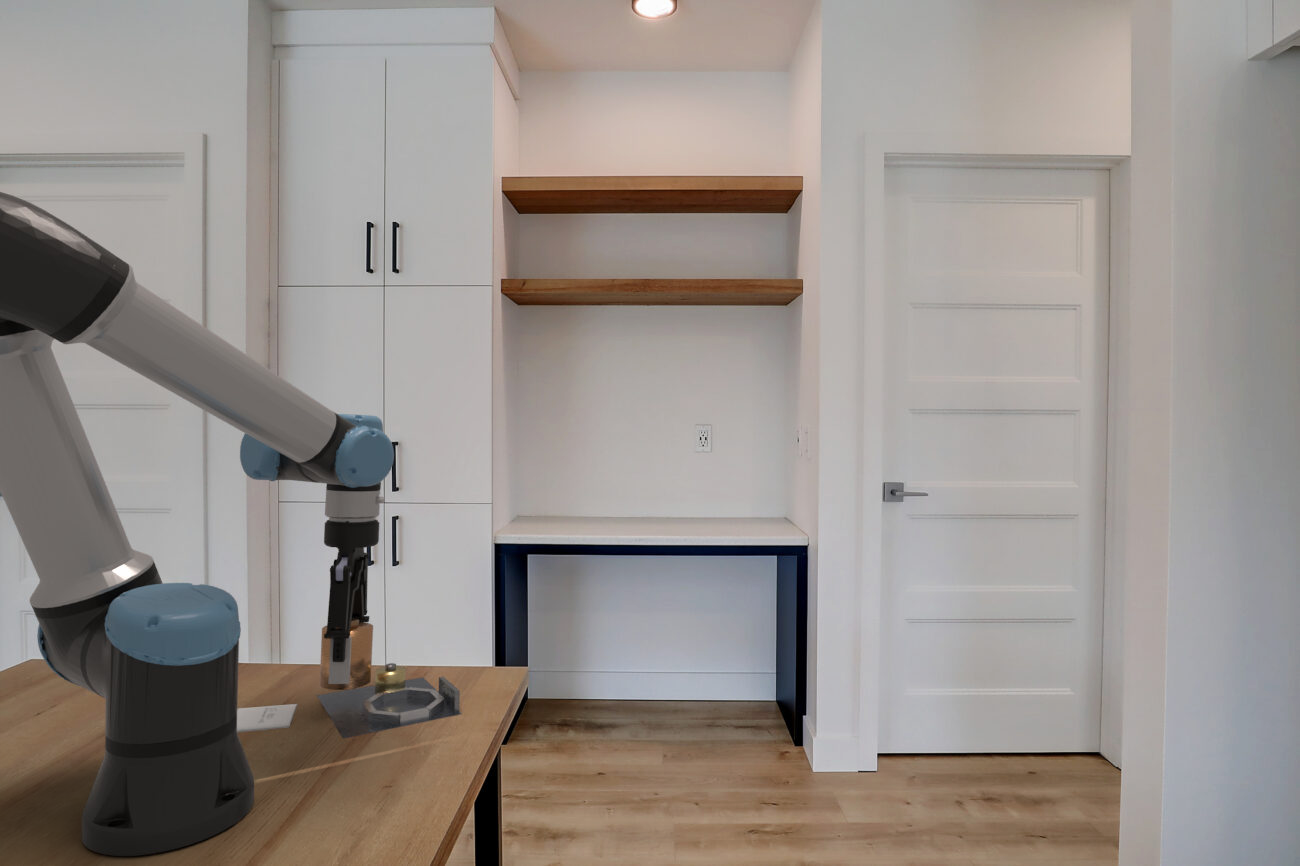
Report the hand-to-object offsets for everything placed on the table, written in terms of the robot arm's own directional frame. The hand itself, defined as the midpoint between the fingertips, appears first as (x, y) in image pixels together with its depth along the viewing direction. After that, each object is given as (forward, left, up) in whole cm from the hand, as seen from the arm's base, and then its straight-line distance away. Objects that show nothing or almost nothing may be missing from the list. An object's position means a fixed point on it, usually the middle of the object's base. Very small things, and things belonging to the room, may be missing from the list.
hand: (345, 674), depth 109 cm
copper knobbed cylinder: (0, 0, -1) cm, 1 cm away
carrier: (-4, -5, -5) cm, 8 cm away
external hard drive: (0, +13, -5) cm, 14 cm away
